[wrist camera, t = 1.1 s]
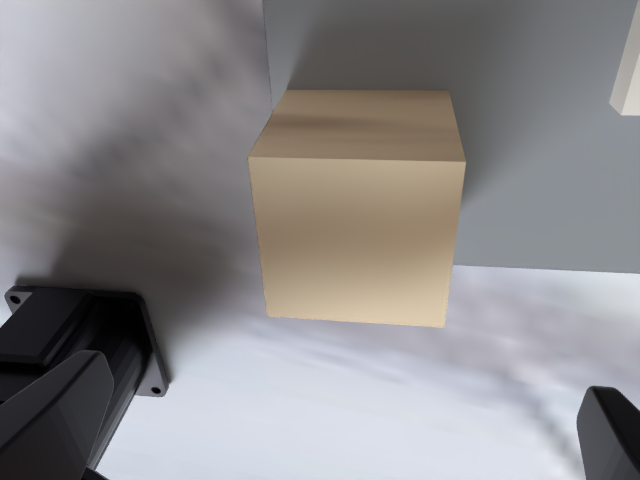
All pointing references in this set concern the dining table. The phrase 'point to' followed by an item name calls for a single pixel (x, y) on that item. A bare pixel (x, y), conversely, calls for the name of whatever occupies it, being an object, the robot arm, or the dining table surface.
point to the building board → (500, 111)
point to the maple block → (358, 205)
